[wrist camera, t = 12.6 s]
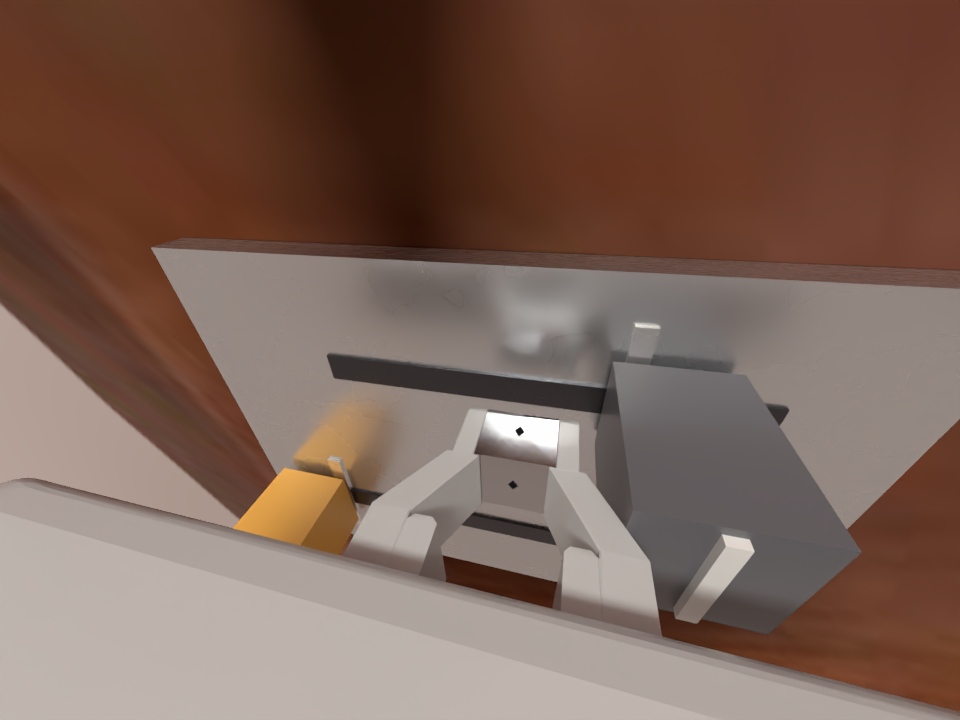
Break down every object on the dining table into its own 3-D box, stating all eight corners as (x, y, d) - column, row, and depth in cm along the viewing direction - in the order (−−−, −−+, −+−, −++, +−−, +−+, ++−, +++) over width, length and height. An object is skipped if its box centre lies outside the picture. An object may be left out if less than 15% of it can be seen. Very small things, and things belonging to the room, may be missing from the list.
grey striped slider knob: (745, 375, 9) (870, 566, 5) (703, 459, 11) (772, 646, 7) (612, 361, 9) (634, 520, 6) (594, 443, 11) (601, 605, 7)
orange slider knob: (343, 479, 16) (271, 589, 12) (359, 519, 18) (300, 625, 14) (284, 467, 17) (198, 568, 13) (304, 507, 19) (235, 605, 15)
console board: (1021, 273, 8) (1093, 298, 7) (737, 597, 17) (748, 629, 16) (184, 237, 12) (147, 248, 11) (316, 504, 21) (302, 524, 20)
